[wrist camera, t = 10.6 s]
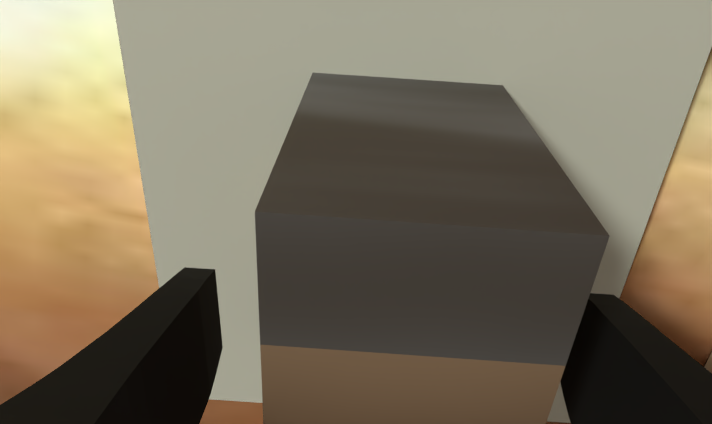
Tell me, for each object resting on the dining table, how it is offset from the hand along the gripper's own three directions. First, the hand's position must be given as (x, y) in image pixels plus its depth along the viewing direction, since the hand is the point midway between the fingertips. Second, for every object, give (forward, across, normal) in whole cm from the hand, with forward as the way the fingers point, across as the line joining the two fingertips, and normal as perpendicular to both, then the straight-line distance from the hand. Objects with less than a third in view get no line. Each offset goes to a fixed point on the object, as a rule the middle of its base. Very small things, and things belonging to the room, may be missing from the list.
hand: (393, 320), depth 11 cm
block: (+3, 0, 0) cm, 3 cm away
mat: (+3, 0, 0) cm, 3 cm away
